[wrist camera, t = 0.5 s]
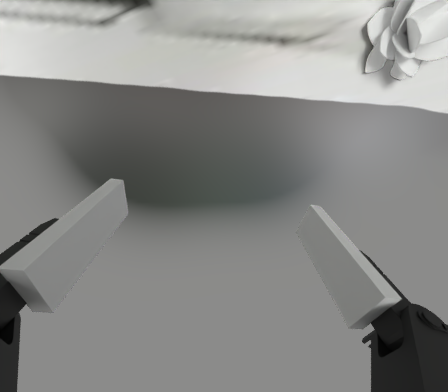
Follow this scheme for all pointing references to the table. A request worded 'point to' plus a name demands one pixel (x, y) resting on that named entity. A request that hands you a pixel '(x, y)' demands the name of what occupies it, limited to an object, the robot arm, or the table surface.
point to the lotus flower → (408, 35)
